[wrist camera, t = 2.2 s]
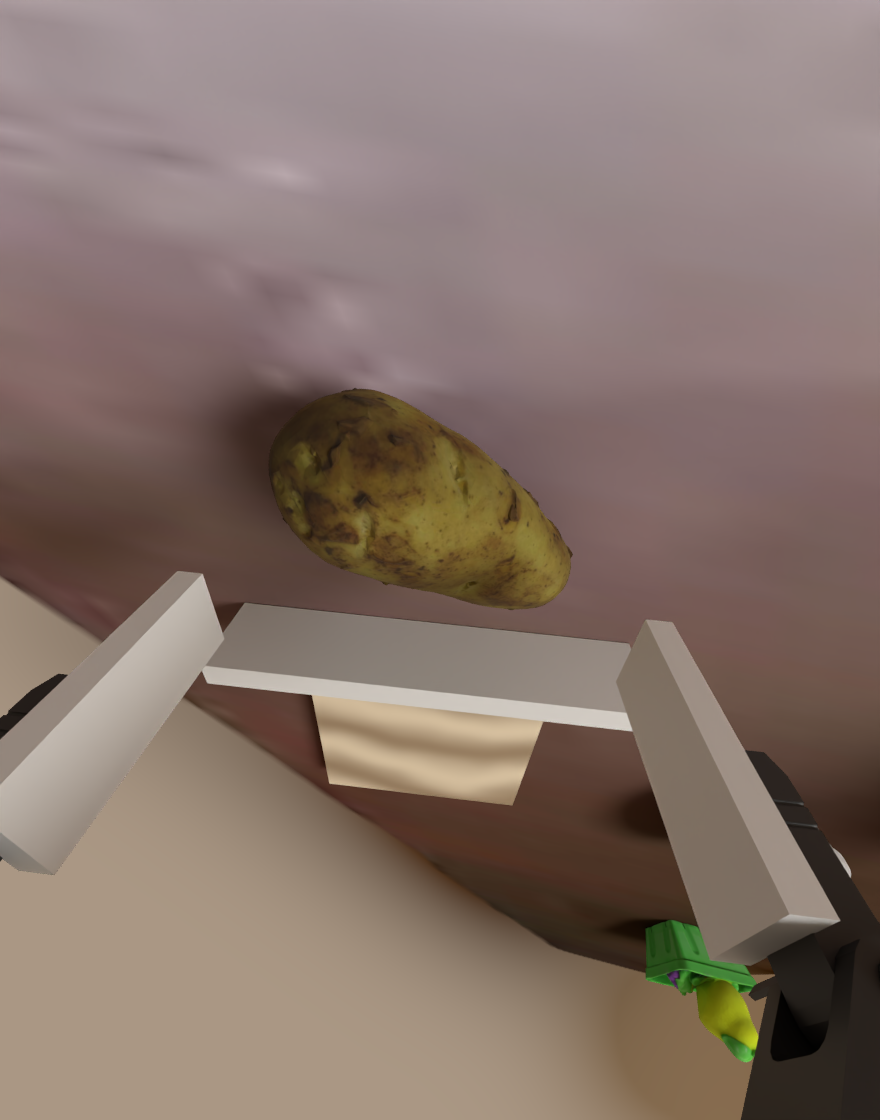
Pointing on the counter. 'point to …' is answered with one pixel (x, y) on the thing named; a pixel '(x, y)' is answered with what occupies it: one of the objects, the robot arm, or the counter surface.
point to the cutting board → (424, 749)
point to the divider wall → (423, 665)
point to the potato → (412, 504)
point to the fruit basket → (703, 983)
